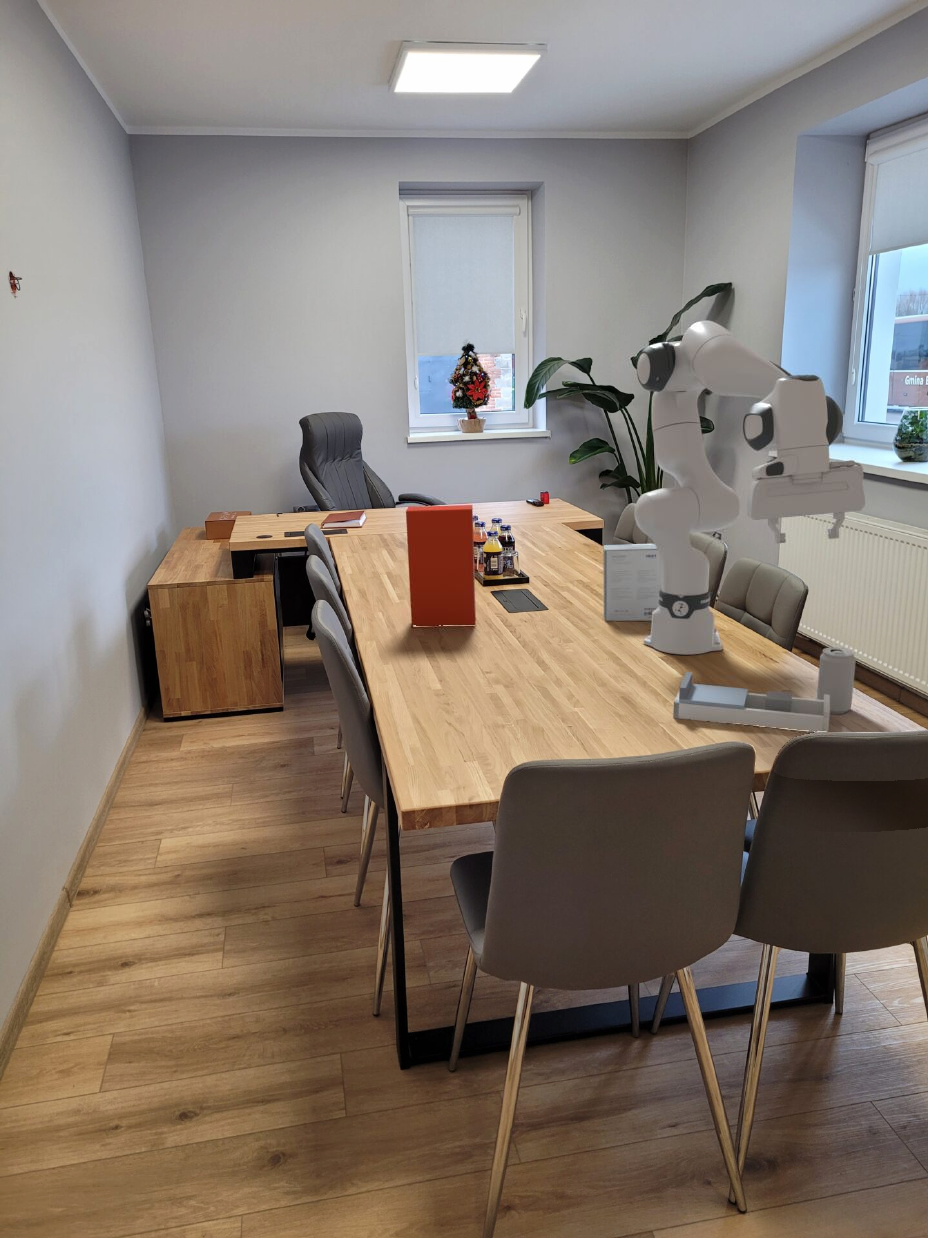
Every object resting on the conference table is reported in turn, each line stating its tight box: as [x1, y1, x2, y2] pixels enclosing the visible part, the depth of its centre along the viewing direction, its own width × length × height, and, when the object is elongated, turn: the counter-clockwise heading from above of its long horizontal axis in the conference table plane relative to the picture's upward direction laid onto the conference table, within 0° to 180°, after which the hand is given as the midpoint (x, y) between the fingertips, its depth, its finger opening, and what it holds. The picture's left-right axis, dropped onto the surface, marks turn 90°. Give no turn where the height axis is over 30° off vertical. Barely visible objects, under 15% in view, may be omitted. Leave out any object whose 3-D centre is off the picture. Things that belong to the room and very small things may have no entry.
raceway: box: [672, 691, 831, 733], centre depth 171 cm, size 10×28×4 cm, turn 68°
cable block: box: [765, 690, 793, 712], centre depth 169 cm, size 4×4×5 cm
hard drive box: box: [602, 543, 661, 622], centre depth 240 cm, size 16×8×20 cm, turn 84°
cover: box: [678, 671, 749, 709], centre depth 173 cm, size 10×12×3 cm
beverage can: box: [816, 646, 857, 715], centre depth 172 cm, size 6×6×12 cm
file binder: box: [405, 504, 477, 626], centre depth 239 cm, size 8×17×32 cm, turn 88°
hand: (806, 540), depth 162 cm, fingers open, 8 cm apart
